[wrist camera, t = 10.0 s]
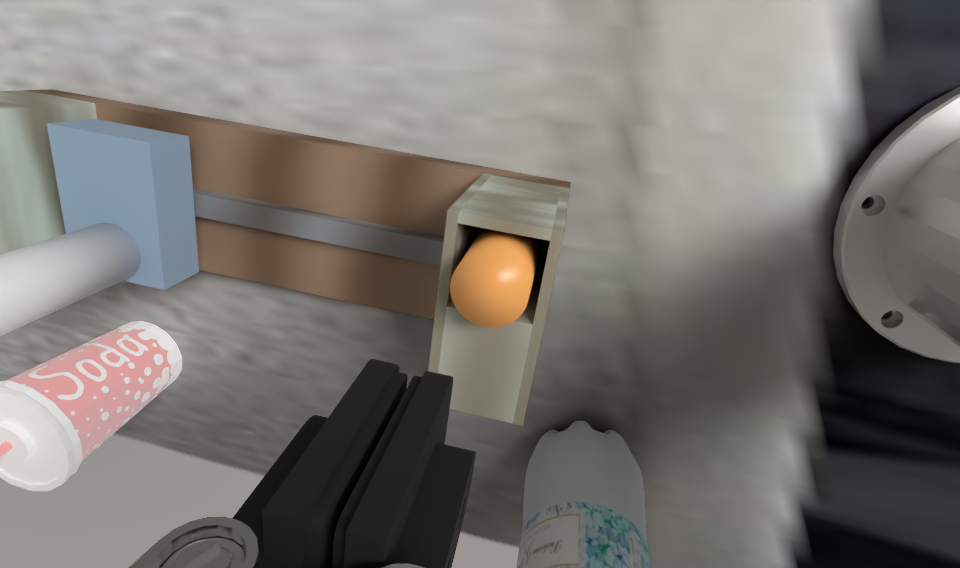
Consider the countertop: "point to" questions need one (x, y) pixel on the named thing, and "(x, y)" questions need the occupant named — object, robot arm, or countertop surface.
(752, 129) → the countertop surface
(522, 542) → the bottle
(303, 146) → the rail stand
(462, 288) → the button
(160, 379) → the beverage cup
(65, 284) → the carriage
